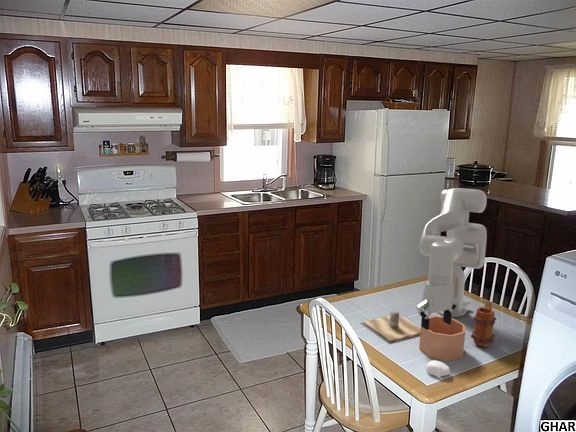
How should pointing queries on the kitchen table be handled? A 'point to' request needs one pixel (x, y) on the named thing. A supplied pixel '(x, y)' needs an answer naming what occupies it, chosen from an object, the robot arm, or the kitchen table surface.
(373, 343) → the kitchen table surface
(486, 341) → the mug
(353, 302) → the kitchen table surface
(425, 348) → the bowl
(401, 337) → the lid
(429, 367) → the garlic
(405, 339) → the mat
